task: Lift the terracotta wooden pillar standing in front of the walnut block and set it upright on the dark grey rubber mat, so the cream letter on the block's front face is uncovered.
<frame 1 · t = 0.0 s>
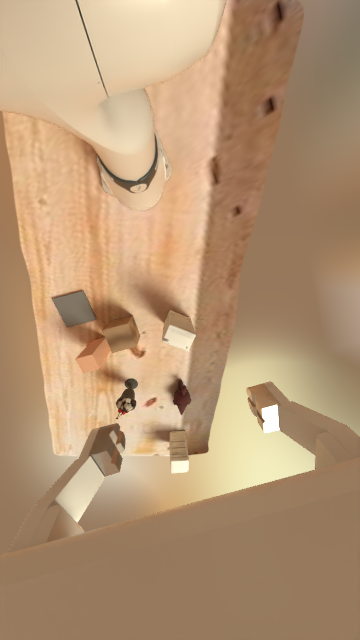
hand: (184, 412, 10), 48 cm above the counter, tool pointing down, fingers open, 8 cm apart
icecream: (181, 392, 70), on the counter
terracotta pillar: (102, 344, 60), on the counter
supplement box: (177, 435, 78), on the counter
skincare box: (176, 320, 59), on the counter
grey mat: (75, 309, 55), on the counter
sundae: (131, 383, 66), on the counter
lettered block: (125, 328, 58), on the counter
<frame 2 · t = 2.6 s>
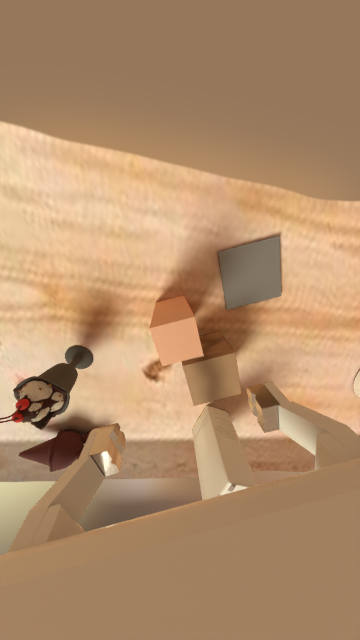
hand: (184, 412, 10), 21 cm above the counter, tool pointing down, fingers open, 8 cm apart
icecream: (70, 433, 38), on the counter
terracotta pillar: (173, 311, 30), on the counter
skincare box: (208, 418, 40), on the counter
grey mat: (250, 274, 29), on the counter
sundae: (79, 356, 32), on the counter
lettered block: (202, 353, 33), on the counter
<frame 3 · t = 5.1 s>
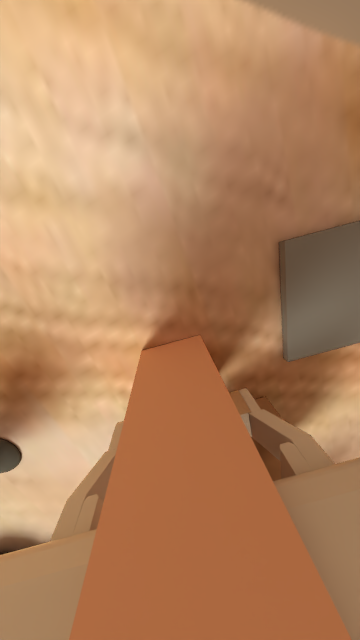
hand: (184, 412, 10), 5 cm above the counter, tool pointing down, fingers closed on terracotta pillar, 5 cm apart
terracotta pillar: (178, 367, 15), on the counter, touching gripper
grey mat: (340, 291, 14), on the counter
lettered block: (232, 433, 18), on the counter
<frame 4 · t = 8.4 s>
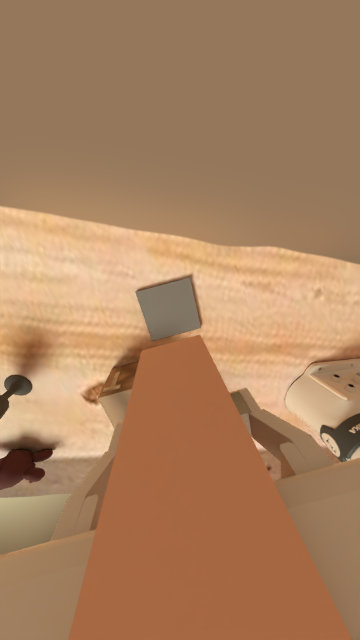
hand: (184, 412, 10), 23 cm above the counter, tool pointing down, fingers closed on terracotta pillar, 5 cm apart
icecream: (23, 451, 40), on the counter
terracotta pillar: (178, 367, 15), point 18 cm above the counter, touching gripper
grey mat: (170, 310, 32), on the counter
sundae: (19, 384, 34), on the counter
lettered block: (136, 378, 36), on the counter
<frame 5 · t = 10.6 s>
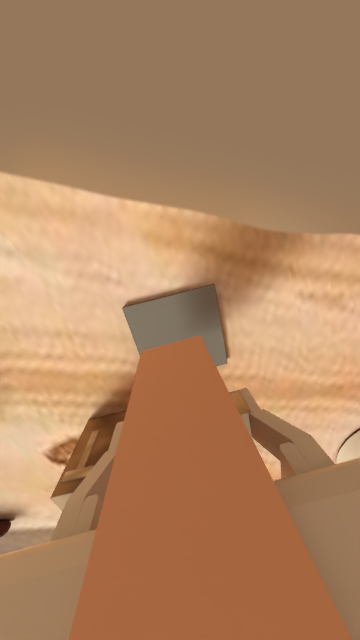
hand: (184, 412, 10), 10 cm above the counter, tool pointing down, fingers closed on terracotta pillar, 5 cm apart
terracotta pillar: (178, 367, 15), point 6 cm above the counter, touching gripper
grey mat: (179, 336, 20), on the counter
lettered block: (126, 432, 24), on the counter
when the fingers open (7 cm above the counter, at t = 12.2 s): terracotta pillar drops 1 cm, resting on grey mat.
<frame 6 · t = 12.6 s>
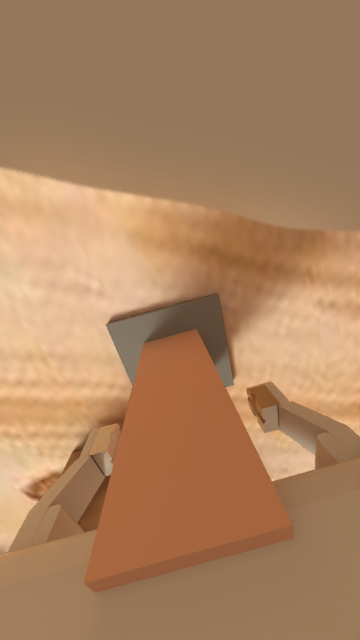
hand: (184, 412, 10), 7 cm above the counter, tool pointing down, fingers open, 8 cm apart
terracotta pillar: (177, 358, 16), point 1 cm above the counter, touching grey mat
grey mat: (176, 354, 16), on the counter
lettered block: (117, 464, 21), on the counter
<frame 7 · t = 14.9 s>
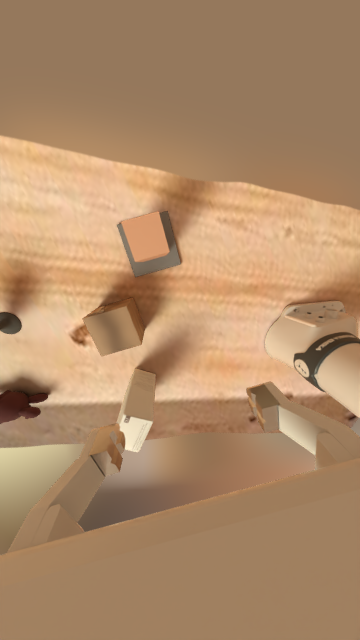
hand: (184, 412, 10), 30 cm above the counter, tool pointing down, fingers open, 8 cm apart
icecream: (19, 395, 42), on the counter
terracotta pillar: (150, 245, 33), point 1 cm above the counter, touching grey mat
skincare box: (140, 381, 44), on the counter
grey mat: (150, 245, 34), on the counter
sundae: (8, 322, 36), on the counter
lettered block: (122, 318, 38), on the counter
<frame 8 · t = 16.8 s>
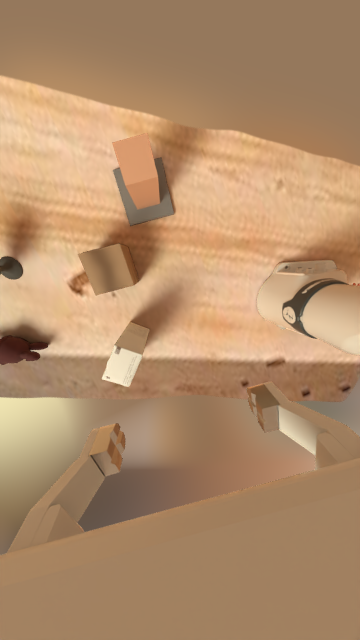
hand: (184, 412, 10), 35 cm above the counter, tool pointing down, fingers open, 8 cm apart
icecream: (20, 343, 44), on the counter
terracotta pillar: (145, 193, 35), point 1 cm above the counter, touching grey mat
skincare box: (134, 336, 46), on the counter
grey mat: (145, 194, 35), on the counter
sundae: (11, 268, 38), on the counter
lettered block: (117, 268, 40), on the counter
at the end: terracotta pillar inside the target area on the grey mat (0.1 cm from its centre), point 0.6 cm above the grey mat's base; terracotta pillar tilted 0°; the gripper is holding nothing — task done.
